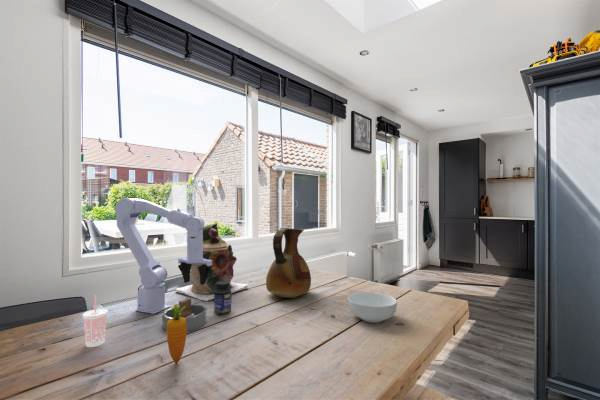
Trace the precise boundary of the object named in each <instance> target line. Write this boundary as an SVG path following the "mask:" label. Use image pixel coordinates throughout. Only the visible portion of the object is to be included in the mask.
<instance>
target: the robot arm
mask: <svg viewBox="0 0 600 400" xmlns="http://www.w3.org/2000/svg"><path fill="white" fill-rule="evenodd" d="M114 211H115V213H116V215H115V216H116V227H117V228H118V230H119V232H120V234H121V236H122V238H123V240H124V241H125V244H126V245H127V246H128V248H129V250H130V252H131V253H132V255H133V257H134V258H135V260H136V262H137V264H138V265H139V269H138V274H139V277H140V283H141V285H142V286H140V287H139V289H138V291H137V294H136V296H137V298H136V301H137V306H136V307H137V308H136V309H135V311H136V312H142V313H145V314H146V313H147V314H152V315H155V314H157V313H159V312H161V311H165V310H167V309H170V308H171V306H170V304H169V305H167V304H166V298H165V297H166V286H165V285H166V283H165V280H167V278H168V270H167V268H165V267H164V266H163V265H162V264H161V263H160V261H158V260H156V259H155V258H154V256H153V254H152V252H151V251H150V249H149V248H148V246H147V244H146V242H145V241H144V238H143V237H142V235H141V233H140V232H139V229H138V228H137V227H136V221H137V219H138V217H140V215H141V214H142V213H143V212H145V213H146V212H147V213H149V214H153V215H157V216H159V217H162V218H166V220H167V223H170V224H172V225H175V226H178V227H180V228H183V229H185V230H186V231H187V233H186V234H187V235H186V238H187V239H186V244H187V245H186V252H187V253H186V257H179V258H177V262H178V265H177V268H178V269H179V271H180V273H181V274H182V278H183V282H184V284H187V283H189V282H191V275H190V271H191V266H192V264H196V265H202V266H199V267H198V270H199V273H200V284H201V285H203V284H205V283H206V279H207V275H208V273H209V271H210V269H211V267H212V260H208V259H203V227H205V220H204V219H203V218H202V217H201V216H199V215H195V216H194V214H193V213H187V212H185V211H182V209H181V208H174V209H168V208H165V207H164V206H161V205H158V204H157V203H154V202H151V201H149V200H147V199H141V198H139V197H134V198H133V197H131V198H130V197H123V198H120V199H118V201H117V202H116V204H115V206H114Z"/></svg>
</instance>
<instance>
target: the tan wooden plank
mask: <svg viewBox="0 0 600 400" xmlns="http://www.w3.org/2000/svg"><path fill="white" fill-rule="evenodd" d="M191 304H192V297H191V298H190V297H187V298H184V299H181V300H179V301H178V306H180V308H179V311H180V310H181V308H183V307H184V306H185V307H186V308H185V309H184V310H183V311H182V312H181V315H180V317H183V318H185V317H187V316H189V315H191Z"/></svg>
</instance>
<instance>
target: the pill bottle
mask: <svg viewBox="0 0 600 400" xmlns="http://www.w3.org/2000/svg"><path fill="white" fill-rule="evenodd" d="M216 287H217V289H216V290H215V291H214V299H213V302H214V303H213V306H214V307H213V309H214V310H213V312H214V314H216V315H220V316H223V315H228V314H230V312H231V311H232V293H231V289H230V288H229V282H228V281H220V282H217V283H216Z"/></svg>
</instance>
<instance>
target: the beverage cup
mask: <svg viewBox="0 0 600 400" xmlns="http://www.w3.org/2000/svg"><path fill="white" fill-rule="evenodd" d="M97 300H98V299H97V295H96V294H94V309H91V310H88V311H85V312H84V313H83V314H82V319H83V326H84V341H85V342H84V343H85V347H87V348H94V347H98V346H102V345H103V344H105V342H106V330H107V318H108V317H107V316H108V313H109V310H108V309H106V308H98V307H97V305H98V303H97Z"/></svg>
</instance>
